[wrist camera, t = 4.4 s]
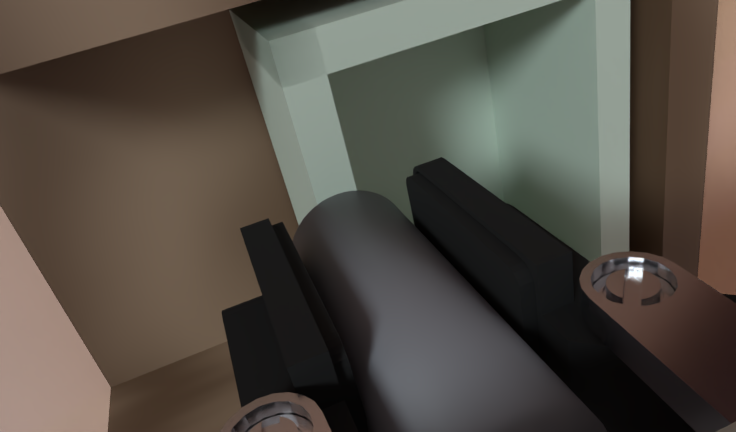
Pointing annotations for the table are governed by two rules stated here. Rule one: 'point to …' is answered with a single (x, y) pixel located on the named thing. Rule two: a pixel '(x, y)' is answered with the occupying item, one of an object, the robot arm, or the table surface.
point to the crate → (465, 151)
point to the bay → (235, 178)
